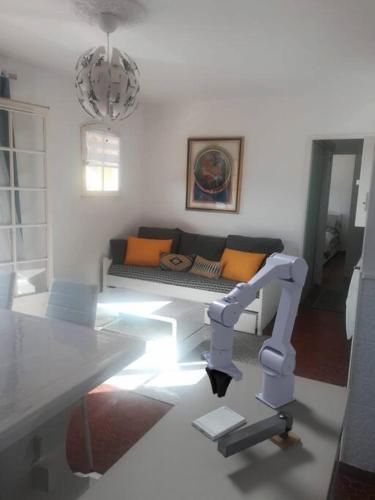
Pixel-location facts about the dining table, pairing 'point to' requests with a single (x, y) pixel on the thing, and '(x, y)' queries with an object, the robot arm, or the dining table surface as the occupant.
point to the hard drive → (218, 422)
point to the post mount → (286, 439)
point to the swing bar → (255, 433)
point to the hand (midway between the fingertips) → (218, 394)
